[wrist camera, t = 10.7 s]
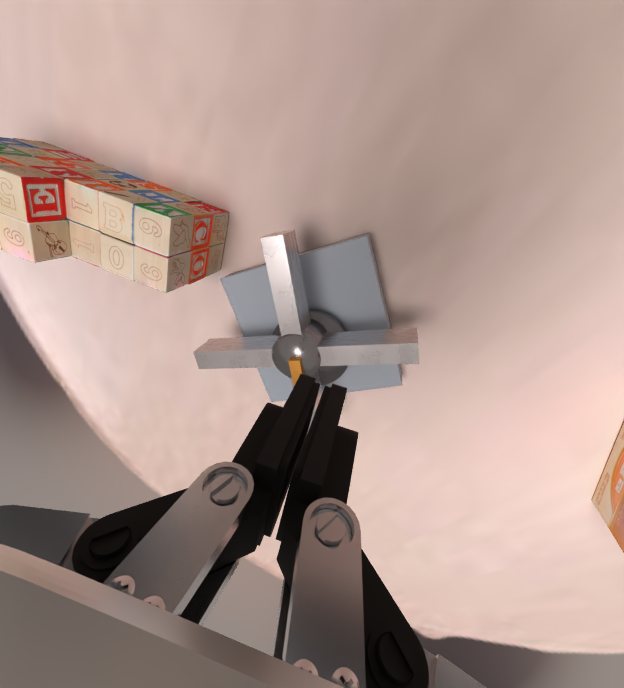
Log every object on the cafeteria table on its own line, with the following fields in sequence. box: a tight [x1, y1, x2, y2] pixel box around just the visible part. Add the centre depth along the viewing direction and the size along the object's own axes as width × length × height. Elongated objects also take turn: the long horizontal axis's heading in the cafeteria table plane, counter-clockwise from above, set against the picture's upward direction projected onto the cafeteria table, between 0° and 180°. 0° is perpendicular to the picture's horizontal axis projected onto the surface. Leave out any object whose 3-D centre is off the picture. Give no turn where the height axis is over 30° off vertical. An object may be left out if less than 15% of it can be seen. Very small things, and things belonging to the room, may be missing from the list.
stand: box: [221, 233, 402, 402], centre depth 33 cm, size 15×15×2 cm
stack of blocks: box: [0, 137, 229, 293], centre depth 28 cm, size 21×6×12 cm, turn 73°
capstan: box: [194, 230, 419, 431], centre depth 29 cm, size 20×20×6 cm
